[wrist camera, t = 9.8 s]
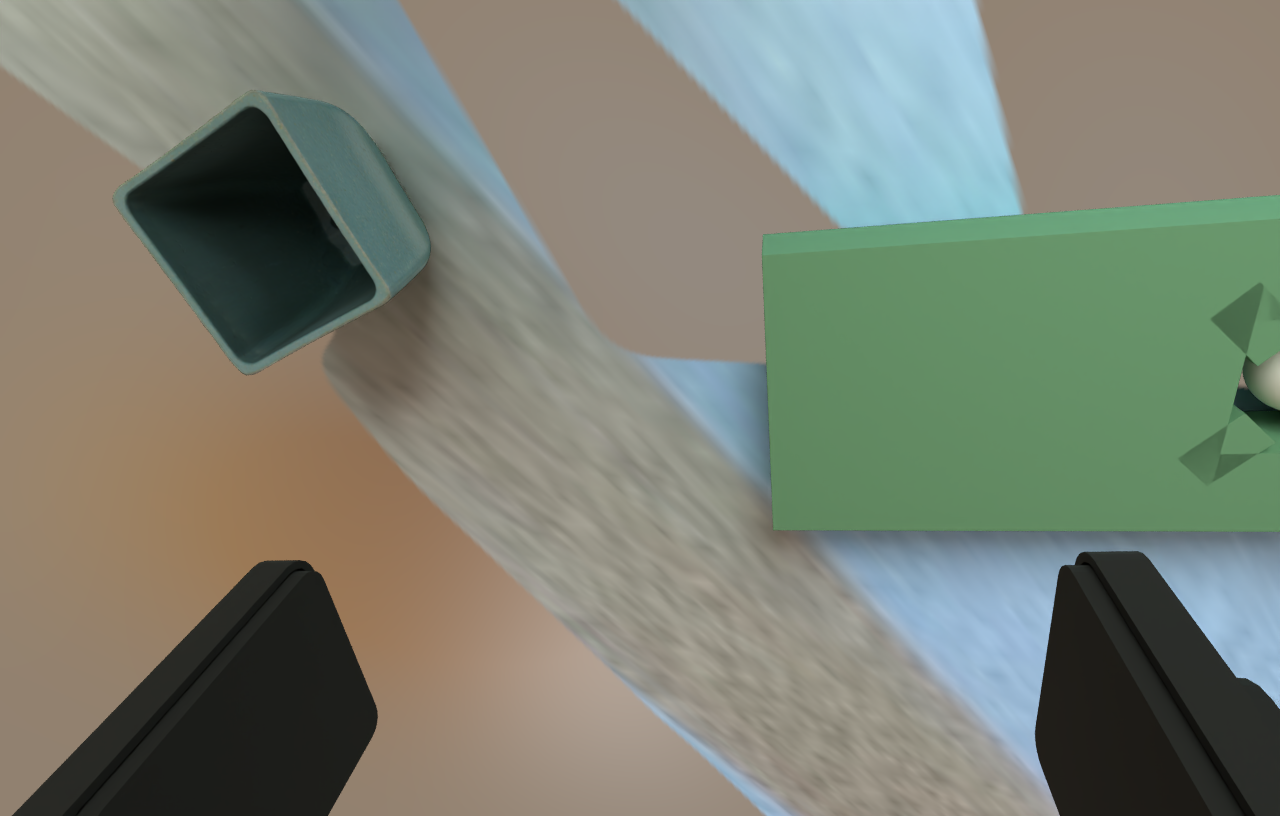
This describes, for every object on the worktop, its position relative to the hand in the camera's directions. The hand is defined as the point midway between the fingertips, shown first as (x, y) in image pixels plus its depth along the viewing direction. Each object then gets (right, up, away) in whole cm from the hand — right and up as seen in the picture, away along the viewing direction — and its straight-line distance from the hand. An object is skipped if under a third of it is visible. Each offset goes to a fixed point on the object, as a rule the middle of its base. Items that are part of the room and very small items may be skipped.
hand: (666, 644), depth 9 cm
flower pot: (-14, +13, +28) cm, 34 cm away
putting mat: (+20, +5, +25) cm, 32 cm away
